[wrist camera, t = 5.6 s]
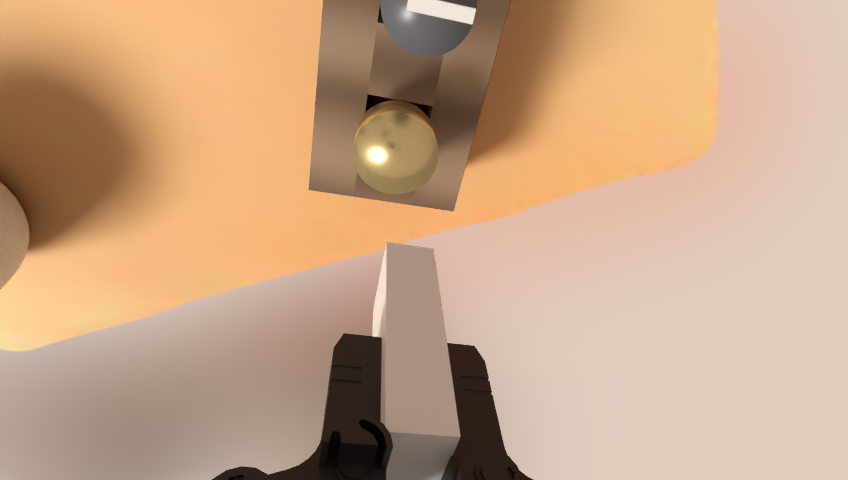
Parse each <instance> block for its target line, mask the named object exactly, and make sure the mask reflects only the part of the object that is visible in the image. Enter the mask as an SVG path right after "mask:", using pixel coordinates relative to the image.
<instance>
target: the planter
mask: <svg viewBox="0 0 848 480" xmlns="http://www.w3.org/2000/svg"><path fill="white" fill-rule="evenodd" d="M28 245H29V226H28V221H27V218H26V215H25V213H24V211H23V209H22V207H21V205H20V204H19V202H18V201H17V199H16V198H15V196H14V195H13V194H12V193H11V192H10V190H9V189H8V188H7V187H6V186H5V185H4V184H2V183H1V182H0V289H1V288H2V287H3V286H4V285H5V284H6V283H7V282H8V281H9V280H10V279H11V277H12V276H13V275H14V274H15V272H16V271H17V270H18V268H19V267H20V265H21V263H22V261H23V259H24V257H25V255H26V252H27V249H28Z"/></svg>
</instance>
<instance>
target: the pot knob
mask: <svg viewBox="0 0 848 480" xmlns="http://www.w3.org/2000/svg"><path fill="white" fill-rule="evenodd" d="M380 7H381V15H382V19H383V23H384V25H385V28H386V30H387V32H388V33H389V35H390V37H391V38H392V39H393V41H394V42H395V43H396V44H397V45H398V46H400V47H401V48H402V49H403V50H405V51H407V52H409V53H411V54H413V55H417V56H421V57H435V56H440V55H443V54H445V53H448V52H450V51H451V50H453V49H454V48H456V47H457V46H458V45H459V44H460V43H461V42H462V41H463V40H464V39H465V38H466V36H467V35H468V33H469V32H470V30H471V28H472V25H473V23H474V20H475V17H476V11H477V0H380Z"/></svg>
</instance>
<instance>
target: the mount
mask: <svg viewBox="0 0 848 480" xmlns="http://www.w3.org/2000/svg"><path fill="white" fill-rule="evenodd" d="M510 1H511V0H477V11H476V17H475V20H474V23H473V25H472V28H471V30H470V32H469V33H468V35H467V36H466V38H465V39H464V40H463V41H462V42H461V43H460V44H459V45H458V46H457V47H456V48H454V49H453V50H451V51H450V52H448V53H445V54H443V55H440V56H435V57H421V56H417V55H413V54H411V53H409V52H407V51H405V50H403V49H402V48H401V47H400V46H398V45H397V44H396V43H395V42H394V41H393V39H392V38H391V37H390V35H389V33H388V32H387V30H386V28H385V25H384V23H383V19H382V15H381V9H379V8H380V0H323V10H322V23H321V37H320V50H319V63H318V76H317V89H316V102H315V115H314V128H313V141H312V154H311V168H310V181H309V190H313V191H320V192H327V193H333V194H340V195H347V196H354V197H360V198H367V199H374V200H381V201H387V202H394V203H401V204H408V205H414V206H421V207H428V208H435V209H441V210H448V211H454V208H455V204H456V200H457V196H458V193H459V189H460V185H461V182H462V178H463V174H464V171H465V167H466V163H467V160H468V156H469V152H470V149H471V145H472V141H473V137H474V134H475V130H476V126H477V123H478V119H479V115H480V112H481V108H482V104H483V101H484V97H485V93H486V90H487V86H488V82H489V78H490V75H491V71H492V67H493V64H494V60H495V56H496V53H497V49H498V45H499V42H500V38H501V34H502V31H503V27H504V23H505V19H506V16H507V12H508V8H509V5H510ZM368 94H369V95H375V96H380V97H386V98H391V99H396V100H402V101H407V102H413V103H418V104H421V110H422V111H423V112H424V113H425V114H426V115H427V117H428V118H429V120H430V121H431V123H432V126H433V129H434V132H435V137H436V141H437V145H438V152H439V156H438V163H437V167H436V169H435V171H434V173H433V175H432V176H431V178H430V179H429V180H428V181H427V182H426V183H425V184H424V185H423V186H421V187H420V188H418V189H416V190H414V191H412V192H409V193H405V194H387V193H383V192H380V191H377V190H375V189H373V188H372V187H370V186H369V185H368V184H366V183H365V182H364V181H363V180H362V179H361V177H360V176H359V174H358V173H357V171H356V169H355V166H354V162H353V155H352V153H353V144H354V139H355V133H356V128H357V125H358V123H359V121H360V119H361V118H362V116H363V115H364V114H365V111H366V103H367V96H368Z"/></svg>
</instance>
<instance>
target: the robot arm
mask: <svg viewBox="0 0 848 480" xmlns="http://www.w3.org/2000/svg"><path fill="white" fill-rule="evenodd" d="M491 392H492V391H491V387H490V382H489V381H488V373H487V369H486V364H485V361H484V360H483V358H482V356H481V355H480V354H479V352H478V351H477V349H476V348H475V346H470V345H461V344H451V343H447V339H446V332H445V326H444V318H443V312H442V304H441V297H440V291H439V284H438V277H437V270H436V263H435V256H434V249H431V248H424V247H417V246H409V245H402V244H395V243H388V242H387V243H386V248H385V253H384V258H383V263H382V268H381V273H380V278H379V283H378V289H377V293H376V298H375V303H374V310H373V335H372V336H362V335H354V334H343V336H342V337H341V338H340V340H339V341H338V343H337V344H336V346H335V347H334V351H333V358H332V365H331V371H330V378H329V385H328V392H327V400H326V407H325V415H324V422H323V430H322V437H321V441H320V444H319V446H318V448H317V450H316V451H315V452H314V454H312V456H311V457H310V458H309V459H307V460H306V461H304V462H303V463H302V464H300V465H298V466H296V467H293V468H290V469H287V470H284V471H280V472H276V473H273V474H269V475H267V474H266V473H264V472H262V471H260V470H259V469H257V468H252V467H238V468H234V469H230V470H226V471H225V472H223V473H221V474H220V475H218V476H217V477H215V478H214V479H212V480H533V479H531V478H529V477H527V476H526V475H524V474H523V473H522V472H521V471H519V469H518V467H517V465H516V464H515V463H514V462H513V461H512V460H511V458H510V457H509V456H508V455H507V453H506V450H505V447H504V444H503V440H502V435H501V431H500V426H499V422H498V417H497V413H496V409H495V405H494V400H493V396H492V395H491Z"/></svg>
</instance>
